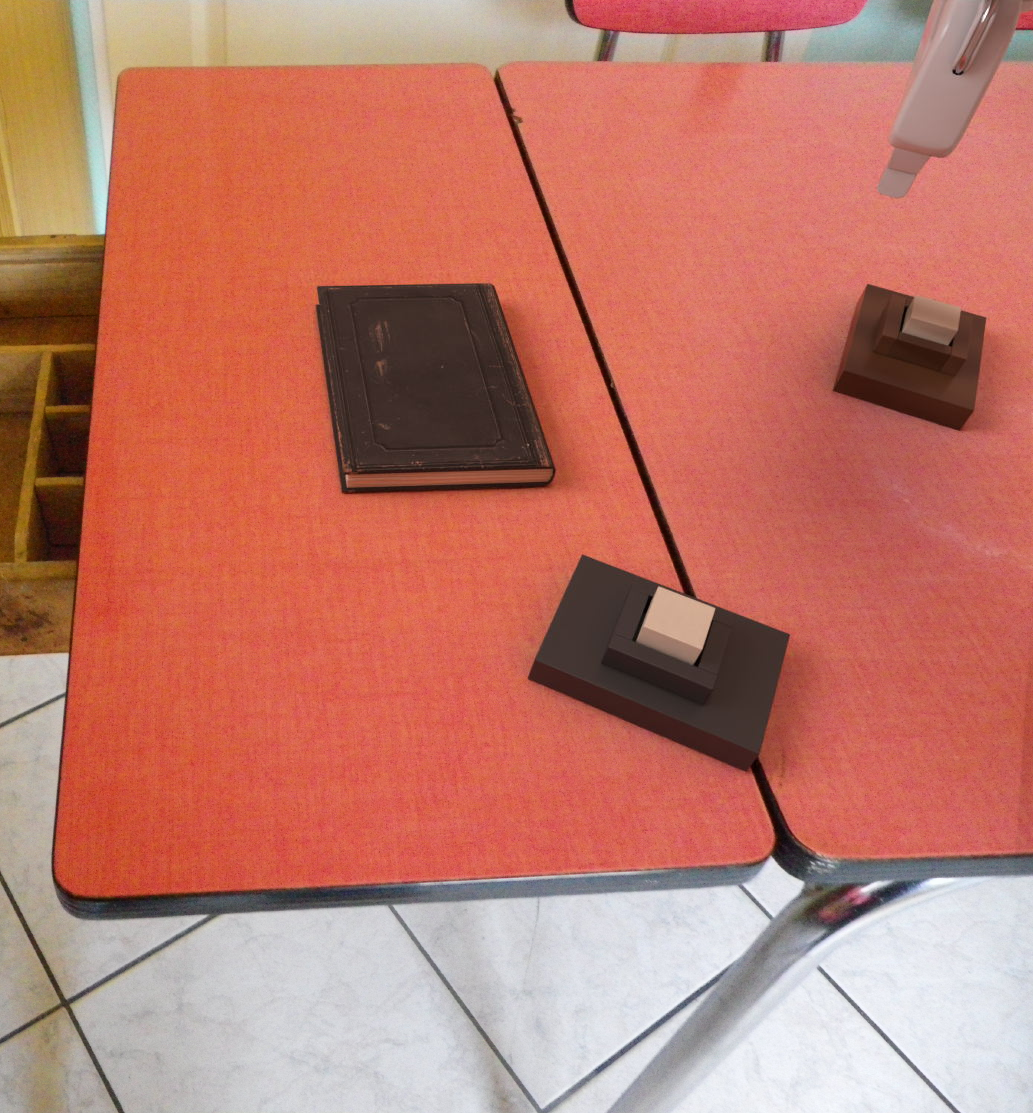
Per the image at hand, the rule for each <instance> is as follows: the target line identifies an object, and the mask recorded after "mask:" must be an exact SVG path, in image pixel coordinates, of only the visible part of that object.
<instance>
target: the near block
mask: <svg viewBox="0 0 1033 1113" xmlns="http://www.w3.org/2000/svg"><path fill="white" fill-rule="evenodd" d="M658 587H662V588H665V589H667V590H670V591H672V592H675V593H678V594H680V595H683V596H685V597H688V598H690V599H693V600H696V601H698V602H701V603H703V604H706V605H709V606H711V607H714V608H715V612H714V615H713V618H712V621H711V624H710V627H709V630H708V634H707V637H706V640H705V643H704V646H703V649H702V651H701V653H700V654H699V656H698V658H697V660H696V661H695V663H694V665H691V664H688V663H686V662H683V661H681V660H678V659H676V658H673V657H671V656H668V655H666V654H664V653H661V652H659V651H656V650H654V649H651V648H649V647H646V646H644V645H641V644H639V643H636V640H637V637H638V635H639V632H640V629H641V627H642V624H643V621H644V619H645V616H646V614H647V611H648V608H649V606H650V603H651V601H652V599H653V597H654V595H655V593H656V591H657V589H658ZM790 637H791V634H790V633H788V632H785V631H783V630H781V629H778V628H776V627H773V626H770V625H767V624H764V623H762V622H759V621H757V620H754V619H752V618H749V617H746V616H744V615H741V614H739V613H736V612H733V611H731V610H729V609H725V608H723V607H722V606H721V607H720V606H718V605H715V604H713V603H710V602H707V601H705V600H703V599H700V598H697V597H696V596H695V597H694V596H692V595H689V594H687V593H684V592H682V591H678V590H677V589H673V588H671V587H669V586H666V585H663V584H661V583H658V582H656V581H652V580H650V579H648V578H646V577H643V576H640V575H638V574H635V573H632V572H630V571H627V570H624V569H622V568H619V567H616V566H614V565H612V564H609V563H606V562H603V561H601V560H598V559H595V558H593V557H590V556H588V555H585V554H581V556H580V558H579V560H578V562H577V565H576V566H575V569H574V571H573V573H572V575H571V577H570V579H569V582H568V584H567V587H566V589H565V591H564V593H563V596H562V598H561V599H560V602H559V604H558V606H557V609H556V611H555V612H554V616H553V618H552V620H551V622H550V624H549V626H548V629H547V631H546V633H545V636H544V638H543V640H542V641H541V644H540V647H539V649H538V651H537V653H536V655H535V658H534V660H533V662H532V665H531V667H530V668H531V669H530V670H529V674H528V676H527V679H528V680H530V681H532V682H535V683H537V684H539V685H543V686H544V687H547V688H549V689H551V690H553V691H556V692H558V693H561V694H563V695H565V696H568V697H570V698H573V699H575V700H577V701H579V702H582V703H584V704H587V705H588V706H591V707H594V708H596V709H598V710H600V711H603V712H605V713H607V714H610V715H612V716H615V717H617V718H619V719H621V720H624V721H626V722H628V723H631V724H633V725H636V726H638V727H640V728H642V729H646V730H648V731H650V732H652V733H654V734H656V735H659V736H662V737H664V738H666V739H668V740H670V741H673V742H675V743H677V744H679V745H682V746H685V747H687V748H690V749H692V750H694V751H696V752H699V753H701V754H703V755H706V756H708V757H711V758H713V759H715V760H717V761H719V762H722V763H725V764H727V765H729V766H731V767H733V768H736V769H738V770H740V771H743V772H748V770H749V769H750V768H751V766H752V765H753V764H754V763H755V761H756V759H757V758H758V757H759V756H760V754H761V751H762V747H763V742H764V739H765V735H766V731H767V727H768V723H769V719H770V717H771V716H770V715H771V711H772V707H773V704H774V699H775V695H776V692H777V688H778V684H779V681H780V677H781V673H782V668H783V664H784V659H785V657H786V653H787V649H788V644H789V641H790Z"/></svg>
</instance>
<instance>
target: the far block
mask: <svg viewBox="0 0 1033 1113" xmlns="http://www.w3.org/2000/svg"><path fill="white" fill-rule="evenodd" d="M863 289H864V290H863V291H862V293H861V294H860V296H859V298H858V300H857V302H856V304H855V308H854V312H853V315H852V318H851V322H850V326H849V330H848V334H847V337H846V342H845V345H844V348H843V352H842V355H841V359H840V363H839V366H838V370H837V373H836V377H835V381H834V384H833V387H832V391H833V392H836V393H838V394H843V395H846V396H848V397H852V398H855V399H859V400H861V401H864V402H868V403H871V404H874V405H877V406H881V407H884V408H887V409H891V410H893V411H896V412H900V413H903V414H906V415H909V416H912V417H916V418H919V419H922V420H925V421H927V422H928V421H929V422H931V423H934V424H938V425H941V426H944V427H947V428H951V429H954V430H957V431H961V430H962V429H963V427H964V426H965V424H966V423H967V422H968V420H969V418H970V417H971V416H972V415H973V413H974V412H975V408H976V401H977V394H978V385H979V378H980V370H981V364H982V363H981V361H982V355H983V348H984V346H983V345H984V341H985V340H984V339H985V333H986V332H985V331H986V324H987V317H986V316H983V315H979V314H977V313H972V312H968V311H966V310H962V309H961V313H960V320H959V326H958V331H957V333H956V334H955V336H954V337H953V339H952V340H951V342H950V344H949V345H948V346H947V345H944V344H940V343H937V342H933V341H930V340H927V339H923V338H920V337H916V336H913V335H910V334H906V333H903V332H902V327H903V323H904V318H905V314H906V311H907V309H908V307H909V305H910V304H911V302H912V300H913V299H914V297H915V296H912V295H909V294H905V293H901V292H898V291H895V290H892V289H888V288H884V287H882V286H881V287H880V286H877V285H873V284H870V283H867V284H866V285H865V288H863Z"/></svg>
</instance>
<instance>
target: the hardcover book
mask: <svg viewBox="0 0 1033 1113" xmlns="http://www.w3.org/2000/svg"><path fill="white" fill-rule="evenodd" d="M316 291H317V300H318V304H315V309H316V317H317V324H318V332H319V338H320V346H321V353H322V360H323V361H322V362H323V366H324V367H323V368H324V374H325V381H326V388H327V396H328V404H329V411H330V417H331V424H332V431H333V439H334V447H335V453H336V459H337V467H338V476H339V482H340V488H341V493H342V494H346V493H347V494H348V493H350V494H351V493H352V494H353V493H380V492H382V493H383V492H384V493H385V492H411V491H412V492H413V491H414V492H415V491H445V490H449V491H451V490H478V489H481V490H482V489H483V490H484V489H509V488H510V489H511V488H543V487H546V486H548V485H550V484H551V483H552V482H553V481H554V478H555V476H556V471H557V469H556V466H555V462H554V459H553V456H552V454H551V450H550V448H549V444H548V441H547V439H546V436H545V432H544V430H543V427H542V424H541V420H540V418H539V414H538V412H537V409H536V405H535V403H534V400H533V397H532V394H531V391H530V387H529V384H528V382H527V380H526V379H527V378H526V376H525V372H524V370H523V367H522V363H521V361H520V358H519V355H518V352H517V349H516V346H515V342H514V340H513V336H512V334H511V331H510V328H509V325H508V322H507V319H506V316H505V313H504V310H503V308H502V305H501V301H500V299H499V295H498V292H497V289H496V287H495V285H494V284H493V283H490V282H478V283H477V282H476V283H474V282H473V283H471V282H470V283H419V284H418V283H417V284H415V283H414V284H412V283H411V284H360V285H359V284H357V285H356V284H355V285H354V284H353V285H317V286H316Z"/></svg>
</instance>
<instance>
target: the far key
mask: <svg viewBox="0 0 1033 1113" xmlns="http://www.w3.org/2000/svg"><path fill="white" fill-rule="evenodd" d="M913 297H914V299H913V300H912V302H911V304H910V305H909V307H908V309H907V311H906V314H905V318H904V323H903V327H902V332H903V333H906V334H910V335H913V336H916V337H920V338H923V339H927V340H930V341H933V342H937V343H940V344H944V345H947V346H948V345H949V344H950V342H951V340H952V339H953V337H954V336H955V334H956V333H957V331H958V326H959V320H960V313H961V310H962V307H961V306H958V305H954V304H952V303H951V304H950V303H947V302H943V301H939V300H936V299H932V298H930V297H925V296H922V295H920V294H915V295H914V296H913Z"/></svg>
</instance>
